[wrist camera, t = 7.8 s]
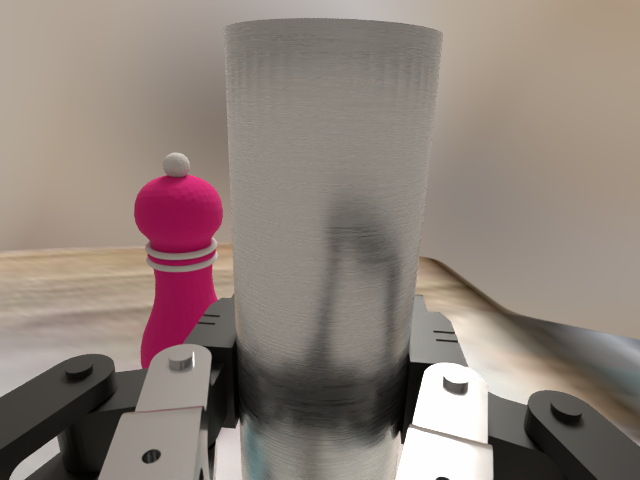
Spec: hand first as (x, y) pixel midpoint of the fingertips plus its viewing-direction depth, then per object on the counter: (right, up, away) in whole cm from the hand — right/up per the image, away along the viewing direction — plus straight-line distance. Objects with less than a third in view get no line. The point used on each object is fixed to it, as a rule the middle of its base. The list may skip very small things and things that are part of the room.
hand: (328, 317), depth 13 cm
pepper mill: (-11, -11, +23) cm, 28 cm away
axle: (0, -11, +1) cm, 11 cm away
